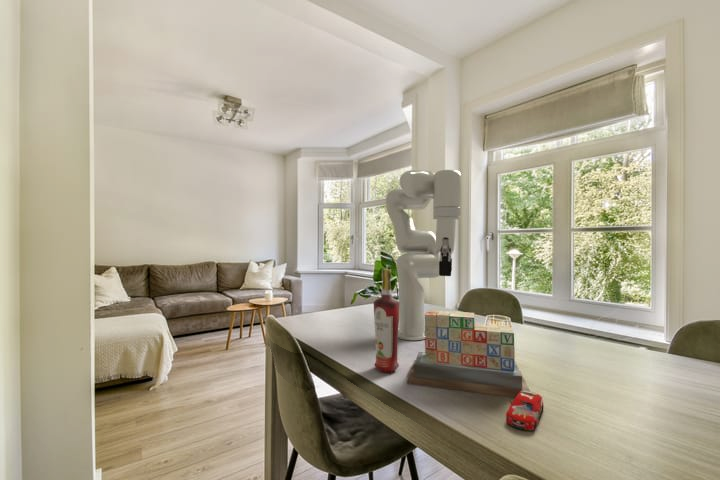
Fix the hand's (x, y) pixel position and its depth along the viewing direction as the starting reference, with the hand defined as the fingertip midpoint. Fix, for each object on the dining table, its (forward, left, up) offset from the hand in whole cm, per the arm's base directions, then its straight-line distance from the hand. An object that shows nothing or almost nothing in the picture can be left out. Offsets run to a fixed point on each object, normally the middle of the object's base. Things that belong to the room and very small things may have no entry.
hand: (445, 273), depth 93 cm
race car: (+23, +17, -27) cm, 39 cm away
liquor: (+7, -16, -27) cm, 32 cm away
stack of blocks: (+8, +6, -22) cm, 24 cm away
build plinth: (+8, +5, -27) cm, 28 cm away
